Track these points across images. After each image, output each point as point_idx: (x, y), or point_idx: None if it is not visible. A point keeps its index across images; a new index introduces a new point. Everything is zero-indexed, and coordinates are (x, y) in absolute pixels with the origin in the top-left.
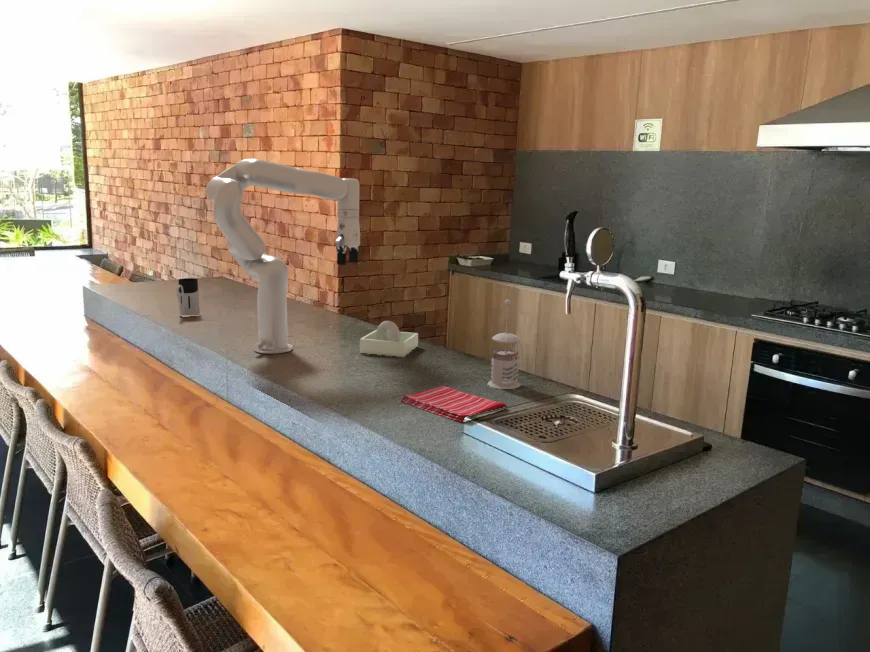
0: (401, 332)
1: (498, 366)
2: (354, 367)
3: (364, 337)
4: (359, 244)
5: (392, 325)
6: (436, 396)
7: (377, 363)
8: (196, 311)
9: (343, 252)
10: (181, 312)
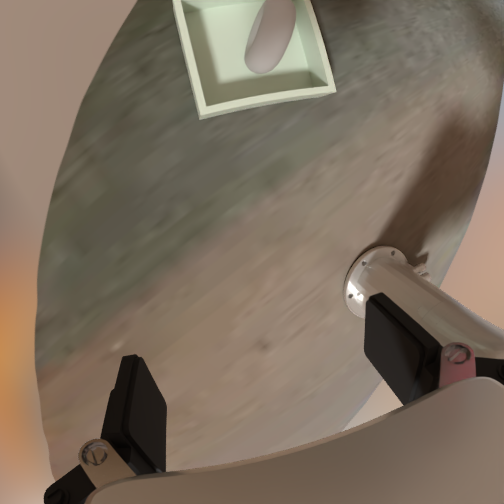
0: (188, 33)
1: None
2: (406, 62)
3: (314, 88)
4: (119, 492)
5: (292, 3)
6: None
7: (363, 31)
8: None
9: (465, 346)
10: None
